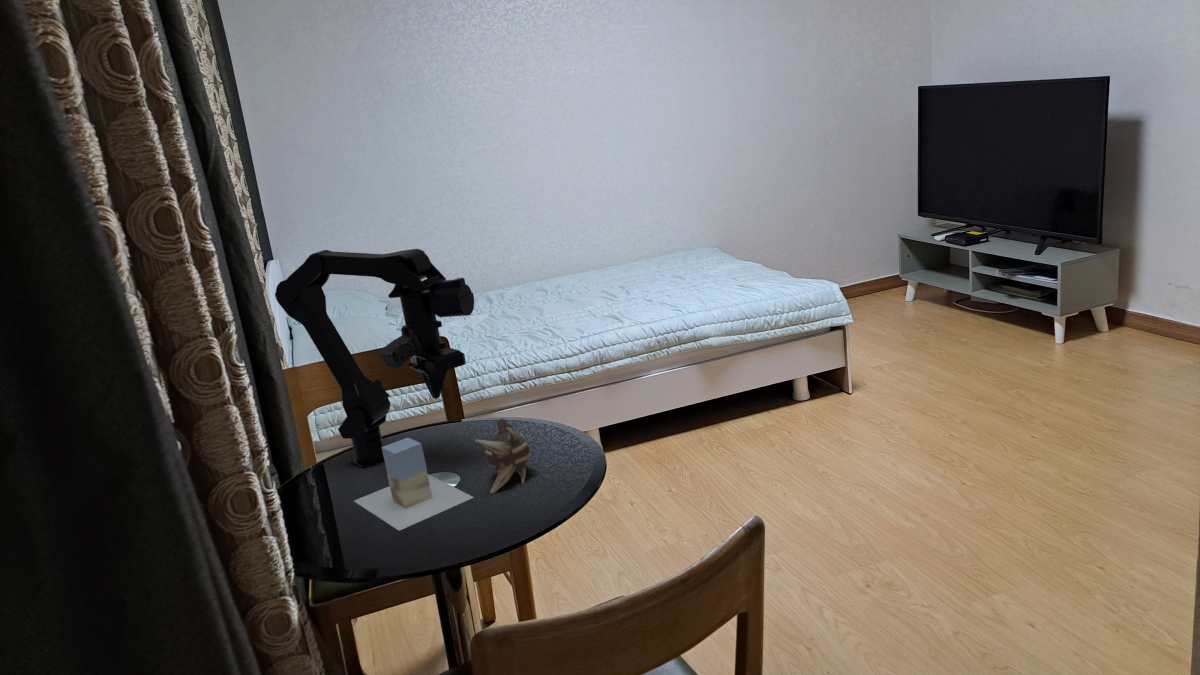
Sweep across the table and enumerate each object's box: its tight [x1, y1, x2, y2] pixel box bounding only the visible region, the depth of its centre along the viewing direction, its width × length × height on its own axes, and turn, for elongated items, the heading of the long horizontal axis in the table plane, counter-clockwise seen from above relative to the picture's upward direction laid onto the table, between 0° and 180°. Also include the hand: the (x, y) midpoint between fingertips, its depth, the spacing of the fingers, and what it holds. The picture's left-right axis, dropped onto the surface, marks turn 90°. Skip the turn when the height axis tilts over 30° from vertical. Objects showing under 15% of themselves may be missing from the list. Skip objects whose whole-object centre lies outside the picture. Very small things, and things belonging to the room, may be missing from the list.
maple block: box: [386, 470, 432, 508], centre depth 144 cm, size 5×5×5 cm
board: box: [353, 473, 474, 532], centre depth 145 cm, size 18×14×1 cm
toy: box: [474, 418, 532, 494], centre depth 149 cm, size 11×8×15 cm
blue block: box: [382, 437, 428, 481], centre depth 143 cm, size 5×5×5 cm
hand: (436, 397), depth 158 cm, fingers closed
